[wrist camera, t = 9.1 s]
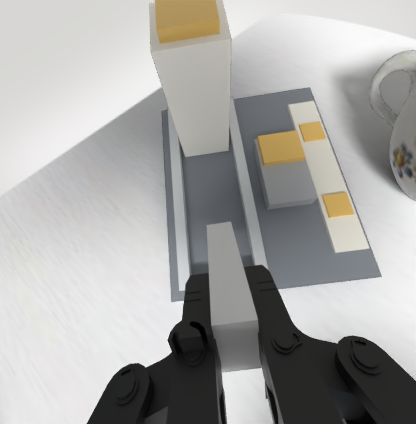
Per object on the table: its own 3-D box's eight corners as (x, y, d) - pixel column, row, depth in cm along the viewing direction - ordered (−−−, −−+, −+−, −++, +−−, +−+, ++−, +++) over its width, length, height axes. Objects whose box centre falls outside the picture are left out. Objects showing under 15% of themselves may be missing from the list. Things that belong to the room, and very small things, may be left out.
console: (175, 300, 16) (164, 304, 13) (164, 119, 22) (156, 96, 19) (370, 277, 15) (402, 276, 12) (305, 97, 21) (317, 70, 18)
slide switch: (185, 157, 18) (146, 38, 9) (182, 122, 20) (145, -12, 11) (228, 150, 18) (231, 23, 9) (222, 116, 20) (219, -26, 10)
